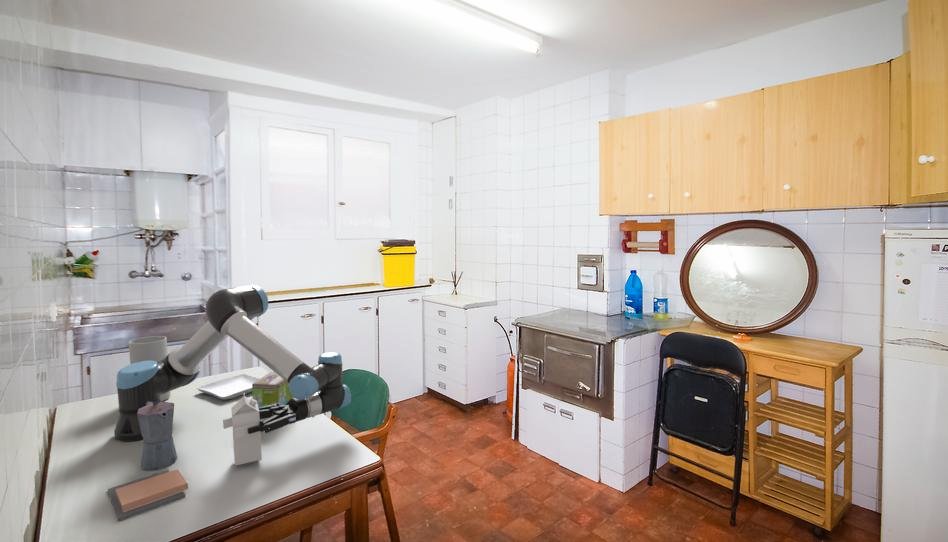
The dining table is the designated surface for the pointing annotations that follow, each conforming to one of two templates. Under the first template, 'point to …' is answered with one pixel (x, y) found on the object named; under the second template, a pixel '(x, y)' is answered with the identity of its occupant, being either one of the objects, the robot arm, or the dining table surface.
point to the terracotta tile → (151, 490)
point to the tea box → (271, 391)
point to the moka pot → (157, 434)
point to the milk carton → (251, 444)
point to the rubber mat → (141, 509)
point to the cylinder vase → (149, 352)
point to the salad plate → (230, 387)
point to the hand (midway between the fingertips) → (229, 428)
